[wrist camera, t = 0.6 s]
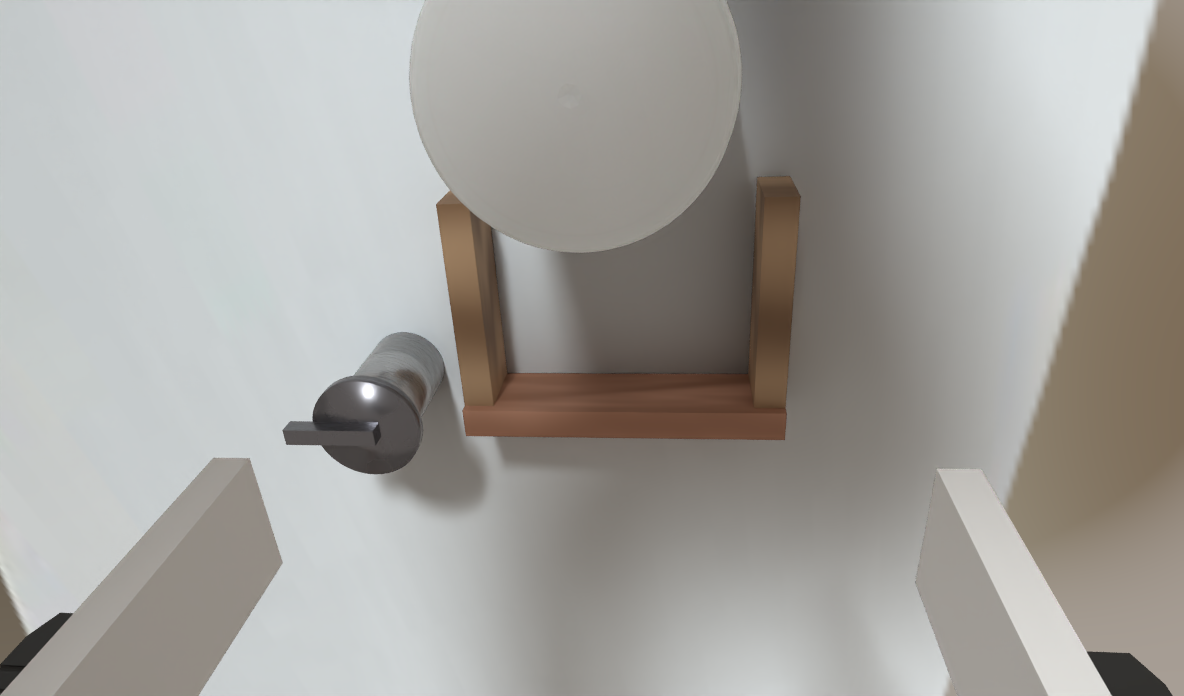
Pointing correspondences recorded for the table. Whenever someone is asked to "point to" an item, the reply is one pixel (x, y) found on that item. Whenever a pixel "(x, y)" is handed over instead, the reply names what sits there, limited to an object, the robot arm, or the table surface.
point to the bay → (624, 398)
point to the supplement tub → (576, 111)
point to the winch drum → (376, 407)
